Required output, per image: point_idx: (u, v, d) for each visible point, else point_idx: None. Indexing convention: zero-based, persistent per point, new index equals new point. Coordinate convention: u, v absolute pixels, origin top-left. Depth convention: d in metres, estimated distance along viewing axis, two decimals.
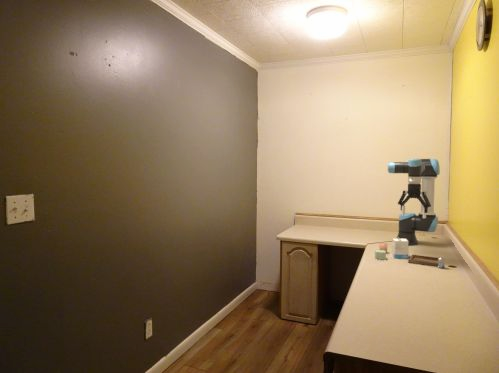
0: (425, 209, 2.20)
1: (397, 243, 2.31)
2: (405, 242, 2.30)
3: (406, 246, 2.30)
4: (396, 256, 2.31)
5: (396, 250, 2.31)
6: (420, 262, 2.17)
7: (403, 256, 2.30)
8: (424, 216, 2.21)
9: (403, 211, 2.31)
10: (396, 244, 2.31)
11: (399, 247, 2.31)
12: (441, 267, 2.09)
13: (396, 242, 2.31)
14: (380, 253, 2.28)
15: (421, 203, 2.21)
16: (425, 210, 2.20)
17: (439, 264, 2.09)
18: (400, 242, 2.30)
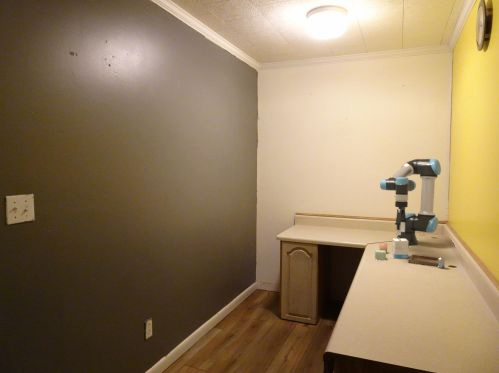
0: (397, 226, 2.27)
1: (397, 243, 2.31)
2: (405, 242, 2.30)
3: (406, 246, 2.30)
4: (396, 256, 2.31)
5: (396, 250, 2.31)
6: (420, 262, 2.17)
7: (403, 256, 2.30)
8: (397, 233, 2.28)
9: (401, 227, 2.39)
10: (396, 244, 2.31)
11: (399, 247, 2.31)
12: (441, 267, 2.09)
13: (396, 242, 2.31)
14: (380, 253, 2.28)
15: None
16: (397, 227, 2.27)
17: (439, 264, 2.09)
18: (400, 242, 2.30)
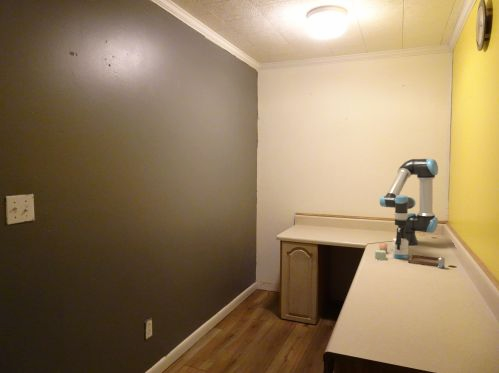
0: (397, 246, 2.29)
1: None
2: (405, 242, 2.30)
3: (406, 246, 2.30)
4: (396, 256, 2.31)
5: None
6: (420, 262, 2.17)
7: (403, 256, 2.30)
8: (397, 252, 2.30)
9: None
10: None
11: None
12: (441, 267, 2.09)
13: None
14: (380, 253, 2.28)
15: None
16: (397, 247, 2.29)
17: (439, 264, 2.09)
18: None
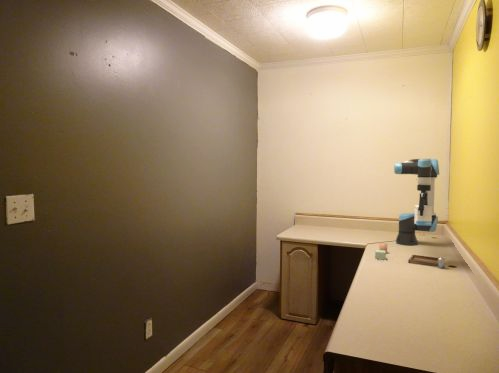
0: (420, 212, 2.17)
1: None
2: (428, 208, 2.17)
3: (429, 212, 2.17)
4: (419, 223, 2.19)
5: None
6: (420, 262, 2.17)
7: (427, 223, 2.18)
8: (420, 219, 2.18)
9: None
10: None
11: None
12: (441, 267, 2.09)
13: None
14: (380, 253, 2.28)
15: None
16: (420, 213, 2.17)
17: (439, 264, 2.09)
18: None
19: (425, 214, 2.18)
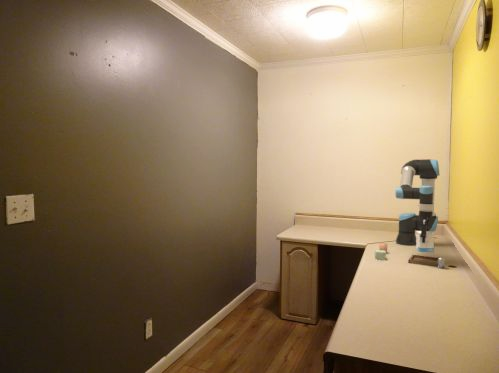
0: (422, 238, 2.17)
1: None
2: (430, 235, 2.17)
3: (431, 239, 2.17)
4: (421, 249, 2.19)
5: None
6: (420, 262, 2.17)
7: (429, 249, 2.18)
8: (422, 246, 2.18)
9: None
10: None
11: None
12: (441, 267, 2.09)
13: None
14: (380, 253, 2.28)
15: None
16: (422, 240, 2.17)
17: (439, 264, 2.09)
18: None
19: (427, 241, 2.18)
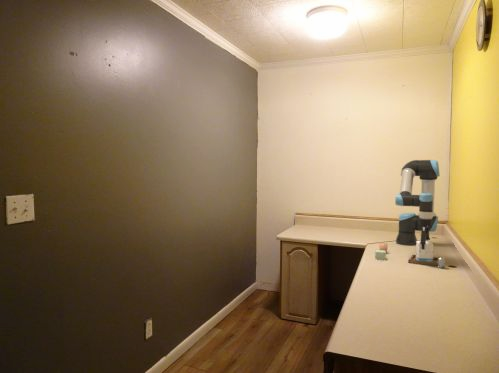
0: (421, 245, 2.16)
1: None
2: (430, 245, 2.18)
3: (431, 249, 2.18)
4: (420, 260, 2.20)
5: (420, 253, 2.19)
6: (420, 262, 2.17)
7: (428, 260, 2.19)
8: (421, 252, 2.17)
9: None
10: (420, 247, 2.19)
11: None
12: (441, 267, 2.09)
13: (420, 245, 2.19)
14: (380, 253, 2.28)
15: None
16: (421, 246, 2.16)
17: (439, 264, 2.09)
18: None
19: (426, 251, 2.19)
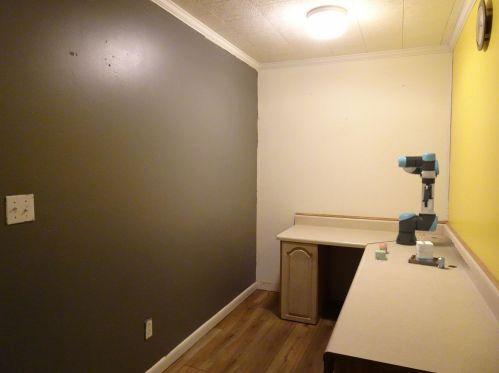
0: (424, 203, 2.22)
1: (421, 246, 2.19)
2: (430, 245, 2.18)
3: (431, 249, 2.18)
4: (420, 260, 2.20)
5: (420, 253, 2.19)
6: (420, 262, 2.17)
7: (428, 260, 2.19)
8: (424, 210, 2.22)
9: None
10: (420, 247, 2.19)
11: (423, 250, 2.19)
12: (441, 267, 2.09)
13: (420, 245, 2.19)
14: (380, 253, 2.28)
15: None
16: (424, 204, 2.22)
17: (439, 264, 2.09)
18: (424, 245, 2.19)
19: (426, 251, 2.19)
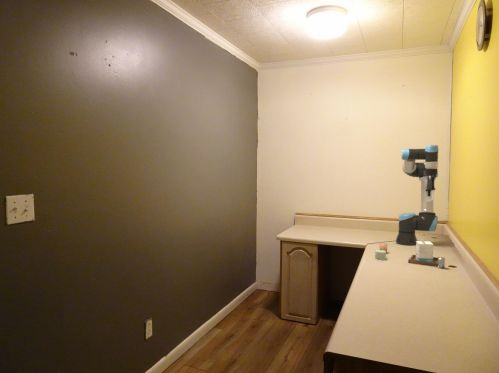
0: (427, 192, 2.31)
1: (421, 246, 2.19)
2: (430, 245, 2.18)
3: (431, 249, 2.18)
4: (420, 260, 2.20)
5: (420, 253, 2.19)
6: (420, 262, 2.17)
7: (428, 260, 2.19)
8: (427, 199, 2.32)
9: None
10: (420, 247, 2.19)
11: (423, 250, 2.19)
12: (441, 267, 2.09)
13: (420, 245, 2.19)
14: (380, 253, 2.28)
15: None
16: (427, 193, 2.31)
17: (439, 264, 2.09)
18: (424, 245, 2.19)
19: (426, 251, 2.19)
